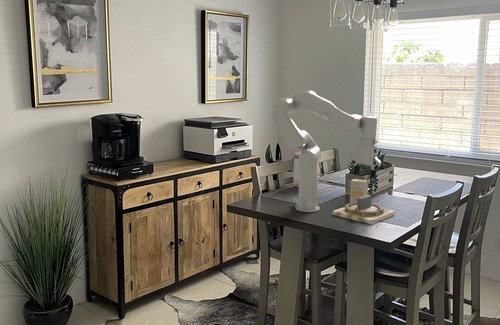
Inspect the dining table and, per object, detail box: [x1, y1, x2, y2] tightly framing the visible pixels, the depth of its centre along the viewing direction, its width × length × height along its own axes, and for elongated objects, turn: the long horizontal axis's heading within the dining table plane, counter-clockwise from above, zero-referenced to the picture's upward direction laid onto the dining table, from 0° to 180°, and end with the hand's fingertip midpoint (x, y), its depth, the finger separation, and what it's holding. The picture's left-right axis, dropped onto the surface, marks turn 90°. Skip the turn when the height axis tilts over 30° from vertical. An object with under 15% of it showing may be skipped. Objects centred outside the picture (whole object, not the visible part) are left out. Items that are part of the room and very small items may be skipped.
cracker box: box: [292, 151, 301, 188], centre depth 308 cm, size 14×6×21 cm, turn 42°
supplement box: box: [349, 178, 369, 203], centre depth 274 cm, size 8×5×13 cm, turn 56°
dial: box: [350, 194, 378, 211], centre depth 254 cm, size 14×14×7 cm
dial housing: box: [332, 202, 396, 225], centre depth 254 cm, size 22×22×4 cm
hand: (364, 175), depth 251 cm, fingers open, 9 cm apart
